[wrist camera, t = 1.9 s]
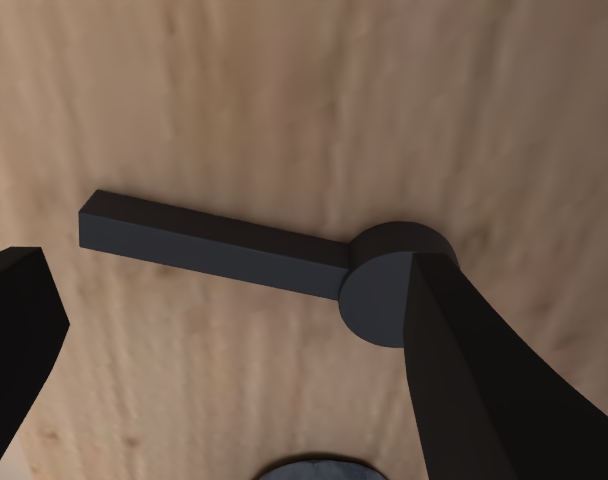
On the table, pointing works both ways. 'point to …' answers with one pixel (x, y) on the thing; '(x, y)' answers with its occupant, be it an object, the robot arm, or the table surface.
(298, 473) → the moka pot
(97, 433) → the table surface
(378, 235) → the coffee scoop
